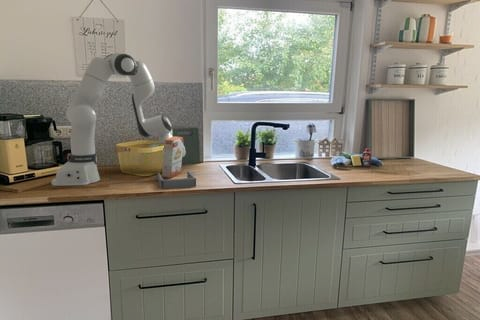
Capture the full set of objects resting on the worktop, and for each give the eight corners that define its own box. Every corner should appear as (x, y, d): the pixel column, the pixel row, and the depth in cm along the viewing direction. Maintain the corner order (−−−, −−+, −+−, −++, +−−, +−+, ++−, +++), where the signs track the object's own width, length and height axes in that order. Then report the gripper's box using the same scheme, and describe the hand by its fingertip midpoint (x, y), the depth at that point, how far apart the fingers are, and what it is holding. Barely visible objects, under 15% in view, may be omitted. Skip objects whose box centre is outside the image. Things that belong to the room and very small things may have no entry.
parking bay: (161, 188, 166) (161, 180, 165) (157, 179, 181) (157, 172, 181) (196, 186, 172) (196, 178, 171) (189, 177, 187) (189, 170, 186)
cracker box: (171, 178, 184) (173, 140, 179) (161, 177, 185) (163, 139, 181) (181, 172, 197) (184, 137, 193) (172, 171, 199) (174, 135, 194)
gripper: (148, 140, 197) (151, 160, 190) (184, 139, 204) (187, 158, 197) (148, 146, 202) (150, 166, 195) (182, 145, 209) (186, 164, 202)
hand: (169, 162), depth 196 cm, fingers closed
